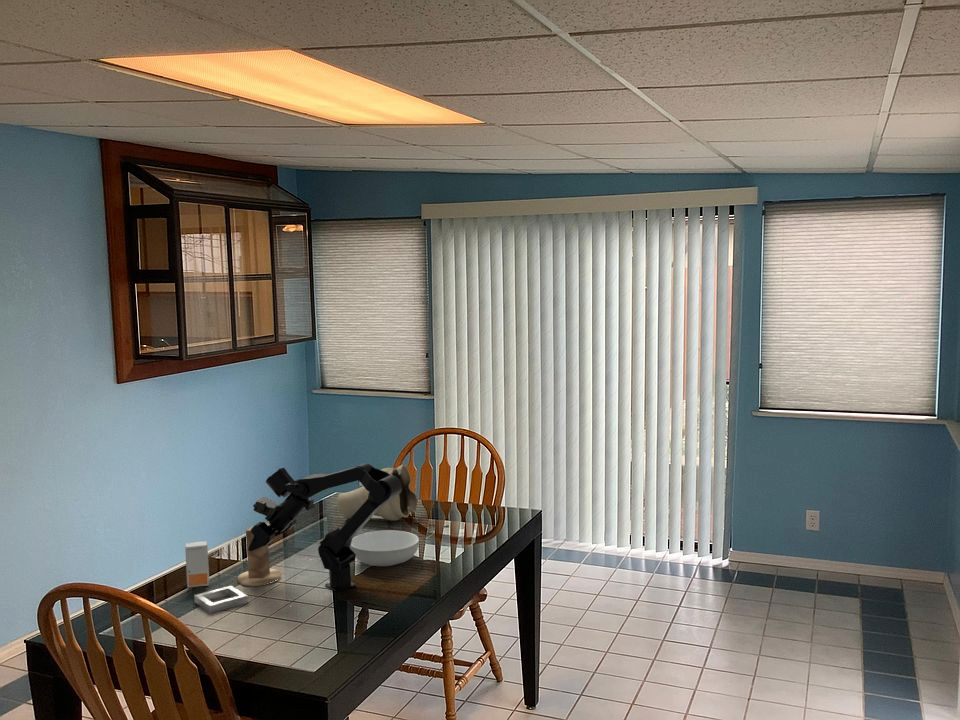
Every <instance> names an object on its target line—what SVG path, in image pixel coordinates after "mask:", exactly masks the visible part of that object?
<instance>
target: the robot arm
mask: <svg viewBox="0 0 960 720" xmlns="http://www.w3.org/2000/svg"><path fill="white" fill-rule="evenodd" d="M357 481H358V482H359V483H361V484H362V487H363V486H364V487H365V489H366V490H367V491H369V494H368V498H367V500H366V501H365V502H364V504H363V505H362V506H361V507H360V508H359V509H358V510H357V511H356V513H355V514H354V515H353V516H352V517H351V518H348V519H347V521H346V523H345V524H344V525H343V526H342V527H341V528H339V527H337V528H335V529H333V530H332V531H329V532H328V533H326V535H325V536H324V538H323V539H322V540H320V541H319V542H318V543H319V546H318V547H317V551H318V556H319V557H320V560H321V562H322V566H323V568H324V570H328V572H329V582H328V583H327V582H326V583H325V584H324V585H325V587H327V588H328V589H330V590H332V591H335V592H341V591H343V590H346V589H351V588H354V587H356V586H357V585H356V583H354V582H353V581H352V576H351V574H352V573H351V565H350V564H351V563H353V562H355V560H356V558H355V557H356V554H355V553H354V552H353V551H352V550H351V548H350V545H351V542H352V539H353V538H354V537H356V536H357V534H358V533H359V532H360V530H362V528H363V527H364V526H365V525H366V524H367V523H368V521H370V520H371V519H372V517H373V516H375V515H374V514H375V513H376V512H377V511H378V509H379V508H380V507H381V506H383V505H384V504H385V503H387V502H388V501H390V500H391V499H393V498H394V497H395V496H397V495H398V494H399V493H400V492H401V491H402V484H401V481H400V480H399V478H398V477H396V476H394V475H390V474H389V473H387V472H385V471H382V469H379V468H377V467H375V466H373V465H371V464H370V463H367V462H365V463H362V464H360V465H357V466H353V467H349V468H345V469H342V470H340V471H336V472H331V473H313V474H310V475H307V476H305V477H302V478H299V479H296V480H294V478H293V477H292V476H291V475H290V474H289V472H288V471H287V470H286V468H285V467H281V468H278V469H277V471H275V472H273V474H272V475H270V476H268V477H267V478H266V480H265V484H266V485H267V486H268V487H269V488H270V490H271V491H272V492H273V494H275V495H276V497H278V498H280V497H282V498H285V499H283V501H282V502H281V503H280V504H279V503H277V502H276V501H274V500H272V499H269V498H268V497H266V496H261V497H259V498H258V499H257V500H256V501H255V503H254V504H253V511H254V512H256V513H258V514H259V515H263V516H264V519H265V521H266V522H268V524H269V525H268V524H267V523H266V522H265V521H259V522H258V523H256V524H254V525H252V526H253V528H252V529H251V532H252V534H253V535H254V537H253V539H252V541H251V543H250V546H249V548H248V550H249V551H250V552H251V551H253V550H256V549H258V548H260V547H263V546H266V545H267V544H268V545H269V544H270V543H271V542H273V540H275V538H276V537H278V536H280V535H282V534H284V533H286V532H288V531H289V530H290V529H292V528H293V527H294V526H295V525H296V524H297V518H298V517H299V514H301V513H302V511H304V509H305V510H306V511H310V510H313V509H315V503H314V499H310V498H311V497H315V496H316V495H319V494H321V493H322V492H324V491H327V490H329V489H331V488H334V487H338V486H342V485H346V484H349V483H354V482H357ZM355 585H356V586H355ZM353 586H354V587H353Z"/></svg>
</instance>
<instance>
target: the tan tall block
mask: <svg viewBox="0 0 960 720" xmlns="http://www.w3.org/2000/svg"><path fill="white" fill-rule="evenodd" d="M253 526H254V525H251V526H250V527H249V528H247V529H246V530H245V540H246V555H247V559H246V560H247V571H248V576H249V578H264V577H266V576H267V575H268V574H269V573H270V569H271V567H270V553H269V550H270V549H269V544H267V545H266V546H263V547H260V548H258V549H256V550H253V551H251V552H250V551H249V550H248V548H249V546H250V543H251V541H252V539H253V537H254V535H253V534H252V532H251V529H252V528H253Z"/></svg>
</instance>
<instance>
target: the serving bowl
mask: <svg viewBox="0 0 960 720" xmlns="http://www.w3.org/2000/svg"><path fill="white" fill-rule="evenodd" d="M419 544H420V538H419V536H417V534H415V533H412V532H407V531H404V530H403V531H402V530H394V529H393V530H392V529H391V530H390V529H387V530H385V529H384V530H383V529H382V530H374V531H368V532H364V533H361V534H358V535H355V536H354V537H353V539H352V542H351V545H350V548H351V550H352V551H353V552H354V553H355V554H356V557H355V560H357V561H359V562H361V563H362V564H365V565H368V566H369V565H370V566H374V567H375V566H376V567H390V566H394V565H399V564H402V563H405V562H407V561H409V560H410V559H411V558H413V557H414V556H415V554H416V553H417V551H418V548H419Z"/></svg>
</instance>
